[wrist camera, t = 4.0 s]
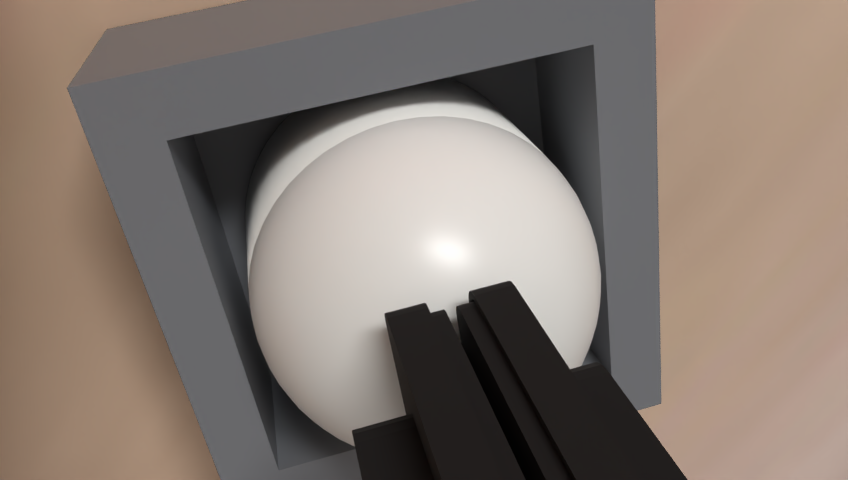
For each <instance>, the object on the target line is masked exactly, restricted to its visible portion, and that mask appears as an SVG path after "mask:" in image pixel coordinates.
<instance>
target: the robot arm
mask: <svg viewBox="0 0 848 480" xmlns="http://www.w3.org/2000/svg"><path fill="white" fill-rule="evenodd" d="M468 299H469V303H466V304H462V305H458V306H457V307H456V315H457V321H458V327H459V333H460V339H461V342H460V340H459V338H458V336H457V334H456V332H455V329H454V327H453V325H452V323H451V321H450V319H449V317H448V315H447V313H446V311H445V310H444V309H443V310H439V311H436V312H432V313H430V310H429V308H428V306H427V304H426V303H422V304H418V305H414V306H410V307H407V308H403V309H399V310H395V311H391V312H387V313H384V316H385V321H386V326H387V331H388V335H389V340H390V344H391V349H392V353H393V358H394V362H395V367H396V371H397V376H398V380H399V385H400V389H401V394H402V398H403V403H404V407H405V412H406V415H405V416H401V417H397V418H394V419H390V420H387V421H383V422H380V423H376V424H372V425H369V426H365V427H362V428H358V429H355V430H352V435H353V440H354V445H355V449H356V454H357V459H358V463H359V468H360V472H361V477H362V480H687V478H686V477H685V476H684V474H683V473H682V472H681V470H680V469H679V467H678V466H677V465H676V463H675V462H674V461H673V459H672V458H671V456H670V455H669V454H668V452H667V451H666V450H665V448H664V447H663V446H662V444H661V443H660V441H659V440H658V439H657V437H656V436H655V435H654V433H653V432H652V430H651V429H650V428H649V426H648V425H647V424H646V422H645V421H644V419H643V418H642V417H641V415H640V414H639V413H638V411H637V410H636V409H635V407H634V406H633V404H632V403H631V402H630V400H629V399H628V398H627V396H626V395H625V393H624V392H623V391H622V389H621V388H620V387H619V385H618V384H617V382H616V381H615V380H614V378H613V377H612V376H611V374H610V373H609V372H608V370H607V369H606V368H605V367H604V366H603V365H602V364H600V363H598V362H594V363H590V364H587V365H583V366H580V367H576V368H573V369H570V368H569V367H568V365H567V364H566V362H565V361H564V359H563V358H562V356H561V355H560V353H559V352H558V350H557V349H556V347H555V346H554V344H553V343H552V341H551V340H550V338H549V337H548V335H547V334H546V332H545V330H544V329H543V327H542V326H541V324H540V323H539V321H538V320H537V318H536V317H535V315H534V314H533V312H532V311H531V309H530V308H529V306H528V305H527V303H526V302H525V300H524V299H523V297H522V296H521V294H520V293H519V291H518V290H517V288H516V287H515V285H514V284H513V283H512V281H506V282H502V283H498V284H494V285H490V286H487V287H483V288H479V289H475V290H471V291H469V295H468Z"/></svg>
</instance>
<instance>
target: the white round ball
mask: <svg viewBox="0 0 848 480" xmlns="http://www.w3.org/2000/svg"><path fill="white" fill-rule="evenodd" d="M245 220H246V243H247V267H248V289H249V302H250V310H251V316H252V321H253V325H254V329H255V334H256V338H257V340H258V343H259V345H260V348H261V350H262V353H263V355H264V357H265V360H266V362H267V364H268V366H269V368H270V370H271V372H272V373H273V375H274V377H275V378H276V380H277V382H278V383H279V385H280V386H281V387H282V389H283V390H284V391H285V392H286V394H287V395H288V396H289V397H290V398H291V400H292V401H293V402H294V403H295V404H296V406H297V407H298V408H299V409H300V410H301V411H302V412H303V413H304V414H306V415H307V416H308V417H309V418H310V419H311V420H312V421H314V422H315V423H316V424H317V425H319V426H320V427H321V428H323V429H324V430H326V431H327V432H329V433H330V434H332V435H333V436H335V437H336V438H338V439H340V440H342V441H344V442H346V443H348V444H350V445H352V446H355V445H354V440H353V435H352V430H355V429H358V428H362V427H365V426H369V425H372V424H376V423H380V422H383V421H387V420H390V419H394V418H397V417H401V416H405V415H406V412H405V407H404V403H403V398H402V394H401V389H400V385H399V380H398V376H397V371H396V367H395V362H394V358H393V353H392V349H391V344H390V340H389V335H388V331H387V326H386V321H385V316H384V313H387V312H391V311H395V310H399V309H403V308H407V307H410V306H414V305H418V304H422V303H426V304H427V306H428V308H429V310H430V313H432V312H436V311H439V310H443V309H444V310H445V311H446V313H447V315H448V317H449V319H450V321H451V323H452V325H453V327H454V329H455V332H456V334H457V336H458V338H459V340H460V342H461V339H460V333H459V327H458V321H457V315H456V307H457V306H458V305H462V304H466V303H469V299H468V295H469V291H471V290H475V289H479V288H483V287H487V286H490V285H494V284H498V283H502V282H506V281H512V283H513V284H514V285H515V287H516V288H517V290H518V291H519V293H520V294H521V296H522V297H523V299H524V300H525V302H526V303H527V305H528V306H529V308H530V309H531V311H532V312H533V314H534V315H535V317H536V318H537V320H538V321H539V323H540V324H541V326H542V327H543V329H544V330H545V332H546V334H547V335H548V337H549V338H550V340H551V341H552V343H553V344H554V346H555V347H556V349H557V350H558V352H559V353H560V355H561V356H562V358H563V359H564V361H565V362H566V364H567V365H568V367H569V368H570V369H573V368H576V367H580V366H582V364H583V361H584V359H585V357H586V355H587V352H588V350H589V347H590V344H591V342H592V339H593V335H594V332H595V329H596V325H597V320H598V314H599V308H600V297H601V271H600V263H599V256H598V250H597V244H596V241H595V237H594V234H593V230H592V227H591V224H590V222H589V220H588V217H587V215H586V213H585V211H584V209H583V207H582V204H581V202H580V200H579V198H578V196H577V195H576V193H575V192H574V190H573V189H572V187H571V186H570V184H569V183H568V181H567V180H566V178H565V177H564V176H563V175H562V173H561V172H560V171H559V170H558V169H557V167H556V166H555V165H554V164H553V163H552V162H551V161H550V160H549V159H548V158H547V157H546V156H545V155H544V154H543V153H542V152H541V151H540V150H539V149H538V148H537V147H536V146H535V145H534V144H533V143H532V142H531V141H530V140H529V139H528V138H527V137H526V136H525V135H524V134H523V133H522V132H521V131H520V130H519V129H518V128H517V127H516V126H515V125H514V124H513V123H512V122H511V121H510V120H508V119H507V118H506V117H505V116H504V115H503V114H502V113H501V112H500V111H499V110H498V109H497V108H496V107H495V106H494V105H493V104H492V103H490V102H489V101H488V100H487V99H485V98H484V97H483V96H482V95H480V94H479V93H477V92H476V91H474V90H472V89H470V88H469V87H467V86H465V85H464V84H461V83H459V82H456V81H454V80H451V79H449V78H443V79H438V80H434V81H429V82H425V83H420V84H416V85H411V86H407V87H403V88H398V89H394V90H389V91H385V92H380V93H376V94H371V95H367V96H363V97H358V98H354V99H349V100H345V101H340V102H336V103H331V104H327V105H323V106H318V107H314V108H309V109H305V110H300V111H296V112H292V113H291V114H290V115H289V116H288V117H287V118H286V119H285V120H284V121H283V122H282V123H281V124H280V125H279V127H278V128H277V129H276V131H275V132H274V133H273V135H272V136H271V137H270V139H269V140H268V142H267V143H266V145H265V147H264V149H263V150H262V152H261V154H260V156H259V158H258V160H257V162H256V165H255V167H254V170H253V173H252V175H251V178H250V183H249V187H248V192H247V197H246V211H245Z"/></svg>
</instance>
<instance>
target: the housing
mask: <svg viewBox="0 0 848 480" xmlns="http://www.w3.org/2000/svg"><path fill="white" fill-rule="evenodd" d="M443 78H449V79H451V80H454V81H456V82H459V83H461V84H464V85H465V86H467V87H469V88H470V89H472V90H474V91H476V92H477V93H479V94H480V95H482V96H483V97H484V98H485V99H487V100H488V101H489V102H490V103H492V104H493V105H494V106H495V107H496V108H497V109H498V110H499V111H500V112H501V113H502V114H503V115H504V116H505V117H506V118H507V119H508V120H510V121H511V122H512V123H513V124H514V125H515V126H516V127H517V128H518V129H519V130H520V131H521V132H522V133H523V134H524V135H525V136H526V137H527V138H528V139H529V140H530V141H531V142H532V143H533V144H534V145H535V146H536V147H537V148H538V149H539V150H540V151H541V152H542V153H543V154H544V155H545V156H546V157H547V158H548V159H549V160H550V161H551V162H552V163H553V164H554V165H555V166H556V167H557V169H558V170H559V171H560V172H561V173H562V175H563V176H564V177H565V178H566V180H567V181H568V183H569V184H570V186H571V187H572V189H573V190H574V192H575V193H576V195H577V196H578V198H579V200H580V202H581V204H582V207H583V209H584V211H585V213H586V215H587V217H588V220H589V222H590V224H591V227H592V230H593V234H594V237H595V241H596V244H597V250H598V256H599V263H600V271H601V297H600V308H599V314H598V320H597V325H596V329H595V332H594V335H593V339H592V342H591V344H590V347H589V350H588V352H587V355H586V357H585V359H584V361H583V364H582V366H583V365H587V364H590V363H594V362H598V363H600V364H602V365H603V366H604V367H605V368H606V369H607V370H608V372H609V373H610V374H611V376H612V377H613V378H614V380H615V381H616V382H617V384H618V385H619V387H620V388H621V389H622V391H623V392H624V393H625V395H626V396H627V398H628V399H629V400H630V402H631V403H632V404H633V406H634V407H635V409H636V410H641V409H644V408H648V407H651V406H655V405H658V404H661V356H660V292H659V228H658V164H657V100H656V36H655V0H247V1H242V2H237V3H232V4H227V5H223V6H218V7H213V8H208V9H203V10H198V11H193V12H189V13H184V14H179V15H174V16H169V17H164V18H159V19H155V20H150V21H145V22H140V23H135V24H130V25H125V26H121V27H116V28H111V29H107V30H106V31H105V32H104V34H103V35H102V37H101V38H100V40H99V41H98V43H97V44H96V46H95V47H94V49H93V50H92V52H91V53H90V55H89V56H88V58H87V59H86V61H85V62H84V64H83V65H82V66H81V68H80V69H79V71H78V72H77V74H76V75H75V77H74V78H73V80H72V81H71V83H70V84H69V86H68V87H67V89H68V92H69V94H70V97H71V99H72V102H73V104H74V107H75V109H76V112H77V115H78V117H79V120H80V122H81V125H82V127H83V130H84V132H85V135H86V137H87V140H88V143H89V145H90V148H91V150H92V153H93V155H94V158H95V160H96V163H97V165H98V168H99V171H100V173H101V176H102V178H103V181H104V183H105V186H106V188H107V191H108V193H109V196H110V199H111V201H112V204H113V206H114V209H115V211H116V214H117V216H118V219H119V221H120V224H121V227H122V229H123V232H124V234H125V237H126V239H127V242H128V244H129V247H130V250H131V252H132V255H133V257H134V260H135V262H136V265H137V267H138V270H139V272H140V275H141V278H142V280H143V283H144V285H145V288H146V290H147V293H148V295H149V298H150V300H151V303H152V306H153V308H154V311H155V313H156V316H157V318H158V321H159V323H160V326H161V328H162V331H163V334H164V336H165V339H166V341H167V344H168V346H169V349H170V351H171V354H172V356H173V359H174V362H175V364H176V367H177V369H178V372H179V374H180V377H181V379H182V382H183V385H184V387H185V390H186V392H187V395H188V397H189V400H190V402H191V405H192V407H193V410H194V413H195V415H196V418H197V420H198V423H199V425H200V428H201V430H202V433H203V435H204V438H205V441H206V443H207V446H208V448H209V451H210V453H211V456H212V458H213V461H214V463H215V466H216V469H217V471H218V474H219V476H220V479H221V480H362V477H361V472H360V468H359V463H358V459H357V454H356V449H355V446H352V445H350V444H348V443H346V442H344V441H342V440H340V439H338V438H336V437H335V436H333V435H332V434H330V433H329V432H327V431H326V430H324V429H323V428H321V427H320V426H319V425H317V424H316V423H315V422H314V421H312V420H311V419H310V418H309V417H308V416H307V415H306V414H304V413H303V412H302V411H301V410H300V409H299V408H298V407H297V406H296V404H295V403H294V402H293V401H292V400H291V398H290V397H289V396H288V395H287V394H286V392H285V391H284V390H283V389H282V387H281V386H280V385H279V383H278V382H277V380H276V378H275V377H274V375H273V373H272V372H271V370H270V368H269V366H268V364H267V362H266V360H265V357H264V355H263V353H262V350H261V348H260V345H259V343H258V340H257V338H256V334H255V329H254V325H253V321H252V316H251V310H250V302H249V289H248V267H247V243H246V220H245V211H246V197H247V192H248V187H249V183H250V178H251V175H252V173H253V170H254V167H255V165H256V162H257V160H258V158H259V156H260V154H261V152H262V150H263V149H264V147H265V145H266V143H267V142H268V140H269V139H270V137H271V136H272V135H273V133H274V132H275V131H276V129H277V128H278V127H279V125H280V124H281V123H282V122H283V121H284V120H285V119H286V118H287V117H288V116H289V115H290V114H291V113H292V112H296V111H300V110H305V109H309V108H314V107H318V106H323V105H327V104H331V103H336V102H340V101H345V100H349V99H354V98H358V97H363V96H367V95H371V94H376V93H380V92H385V91H389V90H394V89H398V88H403V87H407V86H411V85H416V84H420V83H425V82H429V81H434V80H438V79H443Z"/></svg>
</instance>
